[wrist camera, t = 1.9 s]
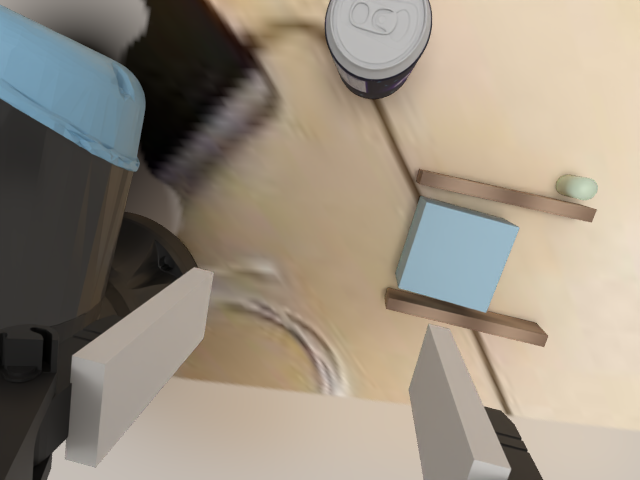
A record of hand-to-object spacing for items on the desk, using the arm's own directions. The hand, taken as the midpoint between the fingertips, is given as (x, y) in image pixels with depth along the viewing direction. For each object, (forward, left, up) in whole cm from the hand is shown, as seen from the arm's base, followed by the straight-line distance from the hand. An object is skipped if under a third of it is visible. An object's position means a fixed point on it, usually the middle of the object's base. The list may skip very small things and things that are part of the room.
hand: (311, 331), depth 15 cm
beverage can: (0, +13, -21) cm, 25 cm away
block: (+9, 0, -22) cm, 23 cm away
